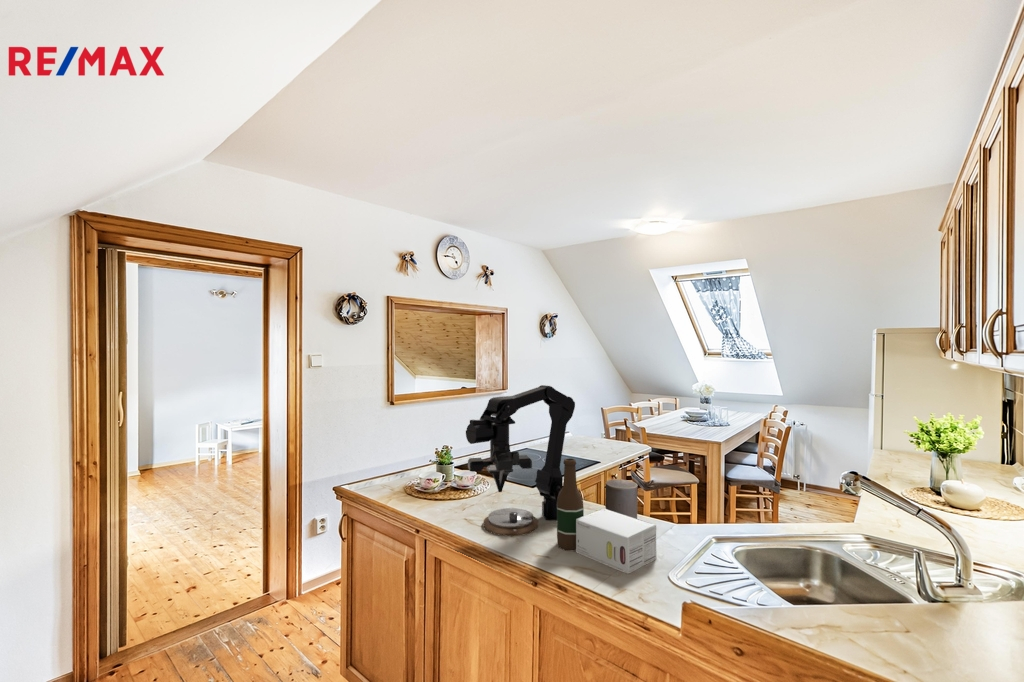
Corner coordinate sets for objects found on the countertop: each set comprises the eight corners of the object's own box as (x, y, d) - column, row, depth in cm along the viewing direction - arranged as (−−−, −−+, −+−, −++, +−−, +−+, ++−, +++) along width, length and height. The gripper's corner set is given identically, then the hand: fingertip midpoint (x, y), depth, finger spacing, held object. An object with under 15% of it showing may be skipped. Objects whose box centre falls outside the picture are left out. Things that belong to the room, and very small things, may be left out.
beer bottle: (587, 542, 137) (587, 457, 137) (579, 553, 130) (579, 463, 130) (561, 538, 141) (561, 455, 141) (552, 548, 133) (551, 461, 134)
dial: (486, 513, 157) (486, 501, 157) (528, 511, 159) (528, 499, 159) (490, 529, 143) (490, 516, 143) (537, 527, 145) (537, 513, 145)
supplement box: (574, 553, 131) (574, 518, 131) (605, 540, 140) (604, 507, 140) (627, 575, 118) (627, 536, 118) (657, 559, 127) (657, 523, 127)
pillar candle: (598, 527, 149) (598, 478, 149) (618, 519, 155) (618, 473, 155) (624, 537, 141) (625, 486, 141) (644, 529, 148) (644, 479, 148)
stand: (532, 514, 161) (532, 509, 161) (543, 533, 144) (543, 529, 144) (481, 517, 158) (481, 512, 158) (486, 537, 141) (486, 532, 141)
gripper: (472, 446, 136) (472, 502, 136) (536, 443, 140) (537, 497, 140) (467, 439, 147) (467, 491, 147) (527, 436, 151) (527, 486, 151)
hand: (499, 491), depth 146 cm, fingers closed
